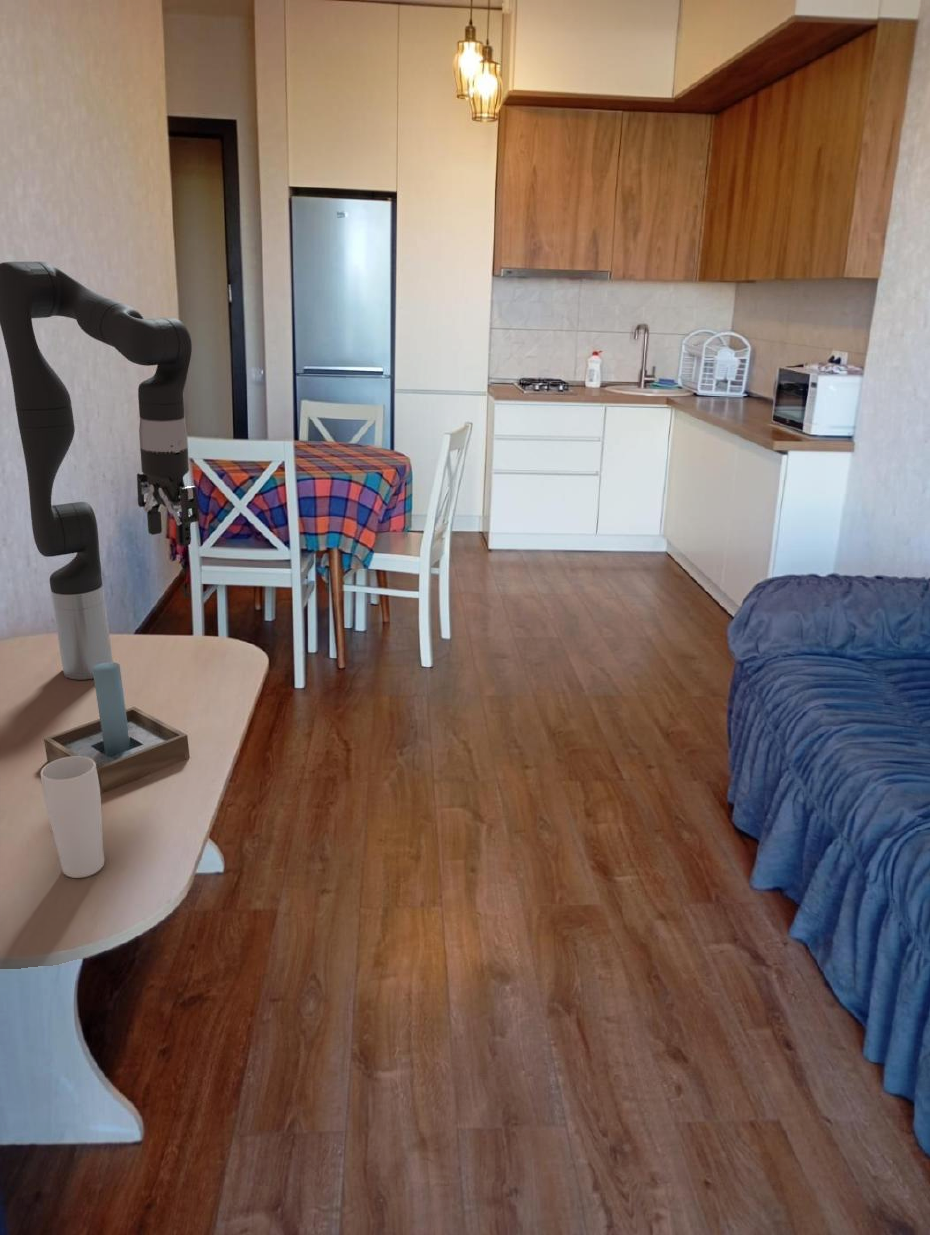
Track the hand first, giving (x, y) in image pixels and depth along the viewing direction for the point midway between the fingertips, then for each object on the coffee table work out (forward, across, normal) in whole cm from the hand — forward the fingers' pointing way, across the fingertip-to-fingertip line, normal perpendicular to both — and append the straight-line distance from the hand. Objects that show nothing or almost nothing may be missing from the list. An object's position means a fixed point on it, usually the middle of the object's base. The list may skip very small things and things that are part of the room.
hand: (169, 539), depth 170 cm
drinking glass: (+30, +35, -38) cm, 60 cm away
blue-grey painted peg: (+30, +11, -19) cm, 38 cm away
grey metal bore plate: (+30, +11, -19) cm, 38 cm away
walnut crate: (+30, +11, -19) cm, 38 cm away
